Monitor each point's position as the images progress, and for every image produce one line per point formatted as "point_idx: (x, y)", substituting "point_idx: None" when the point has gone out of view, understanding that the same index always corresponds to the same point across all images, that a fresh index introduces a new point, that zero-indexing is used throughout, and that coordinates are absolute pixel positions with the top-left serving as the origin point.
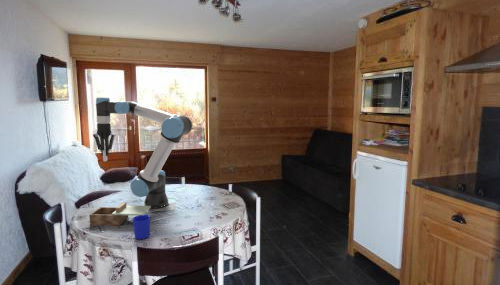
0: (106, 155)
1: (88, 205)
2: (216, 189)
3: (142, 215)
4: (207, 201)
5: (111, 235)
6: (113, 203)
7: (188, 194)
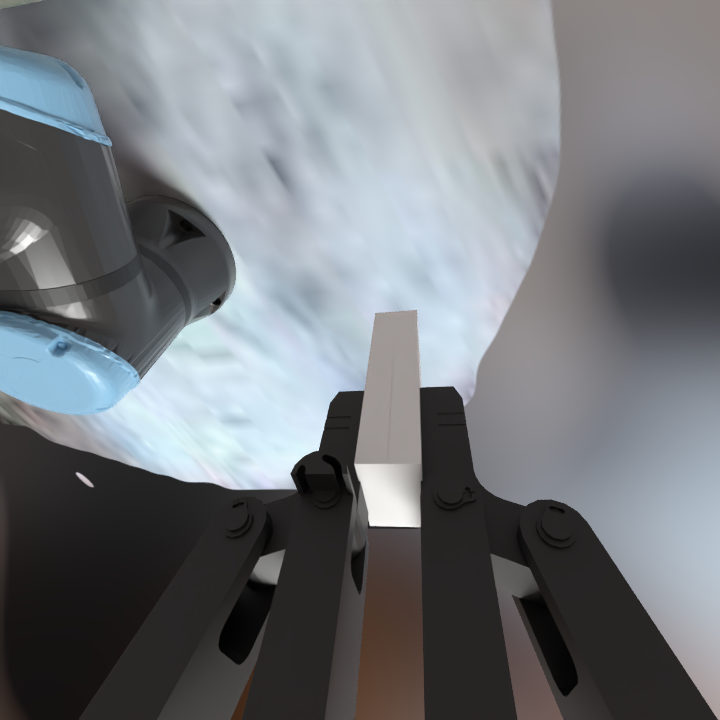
0: (357, 396)
1: (544, 192)
2: (93, 445)
3: None
4: None
5: None
6: (406, 246)
7: (145, 393)
